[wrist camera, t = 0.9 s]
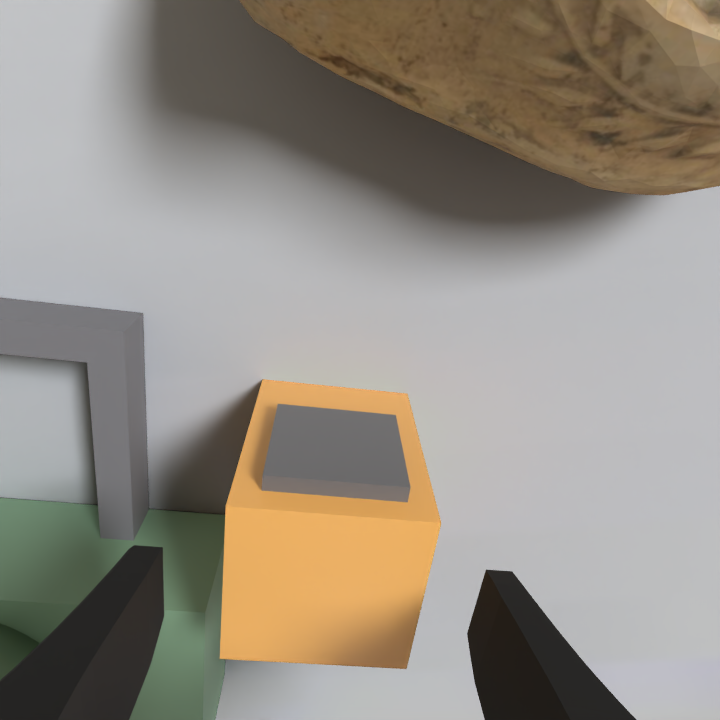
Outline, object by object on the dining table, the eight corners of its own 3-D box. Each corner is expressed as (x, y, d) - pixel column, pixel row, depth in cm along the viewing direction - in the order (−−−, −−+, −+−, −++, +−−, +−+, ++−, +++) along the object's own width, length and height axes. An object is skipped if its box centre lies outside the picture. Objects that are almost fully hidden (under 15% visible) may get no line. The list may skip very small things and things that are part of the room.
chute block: (385, 508, 19) (406, 669, 13) (255, 497, 18) (219, 658, 13) (409, 381, 17) (444, 507, 11) (263, 367, 16) (226, 490, 11)
